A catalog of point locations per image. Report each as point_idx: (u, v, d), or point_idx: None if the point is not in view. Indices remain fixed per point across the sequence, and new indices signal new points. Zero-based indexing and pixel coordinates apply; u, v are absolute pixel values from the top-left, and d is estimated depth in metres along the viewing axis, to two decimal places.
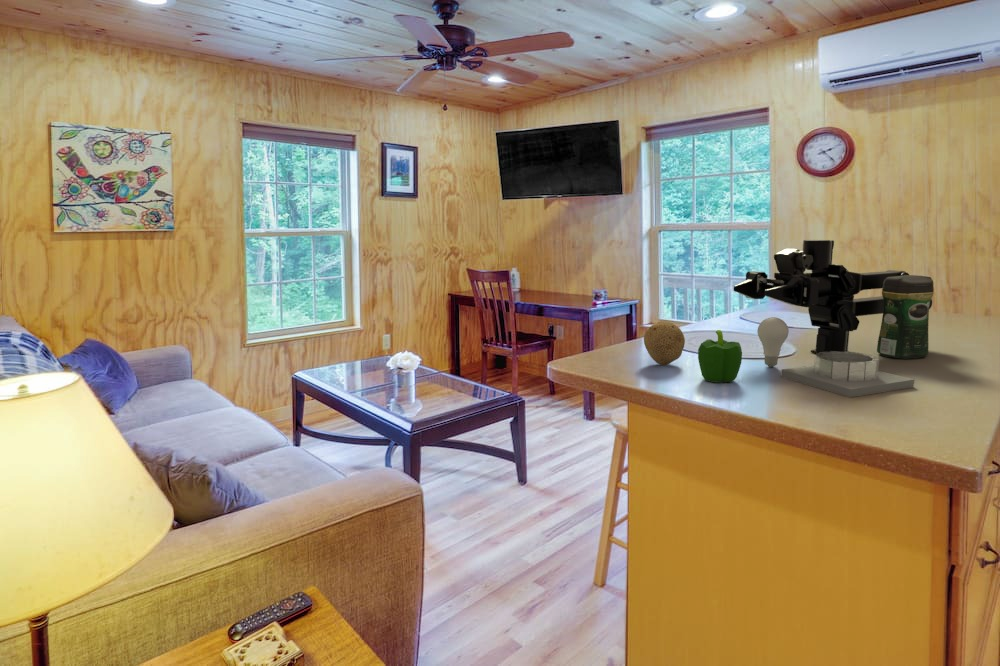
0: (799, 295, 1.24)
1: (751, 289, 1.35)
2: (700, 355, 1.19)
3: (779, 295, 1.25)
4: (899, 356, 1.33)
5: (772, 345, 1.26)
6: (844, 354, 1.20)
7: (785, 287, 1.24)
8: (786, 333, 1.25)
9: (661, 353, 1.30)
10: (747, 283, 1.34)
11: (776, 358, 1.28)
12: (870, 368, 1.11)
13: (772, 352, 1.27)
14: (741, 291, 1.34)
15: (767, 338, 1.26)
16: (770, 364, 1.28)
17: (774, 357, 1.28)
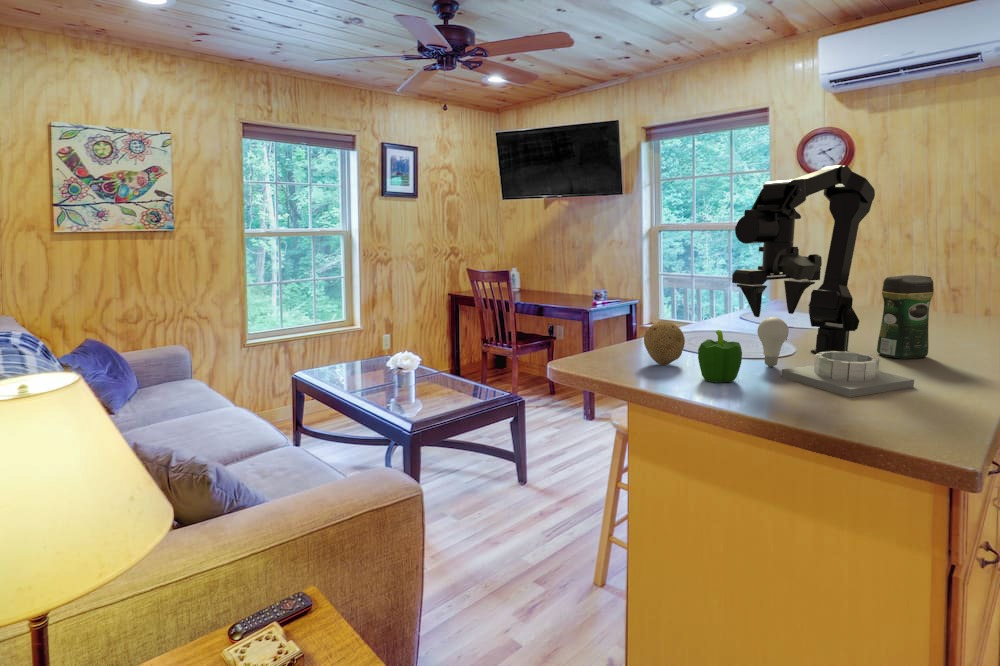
0: None
1: None
2: (700, 355, 1.19)
3: None
4: (899, 356, 1.33)
5: (772, 345, 1.26)
6: (844, 354, 1.20)
7: None
8: (786, 333, 1.25)
9: (661, 353, 1.30)
10: None
11: (776, 358, 1.28)
12: (870, 368, 1.11)
13: (772, 352, 1.27)
14: None
15: (767, 338, 1.26)
16: (770, 364, 1.28)
17: (774, 357, 1.28)
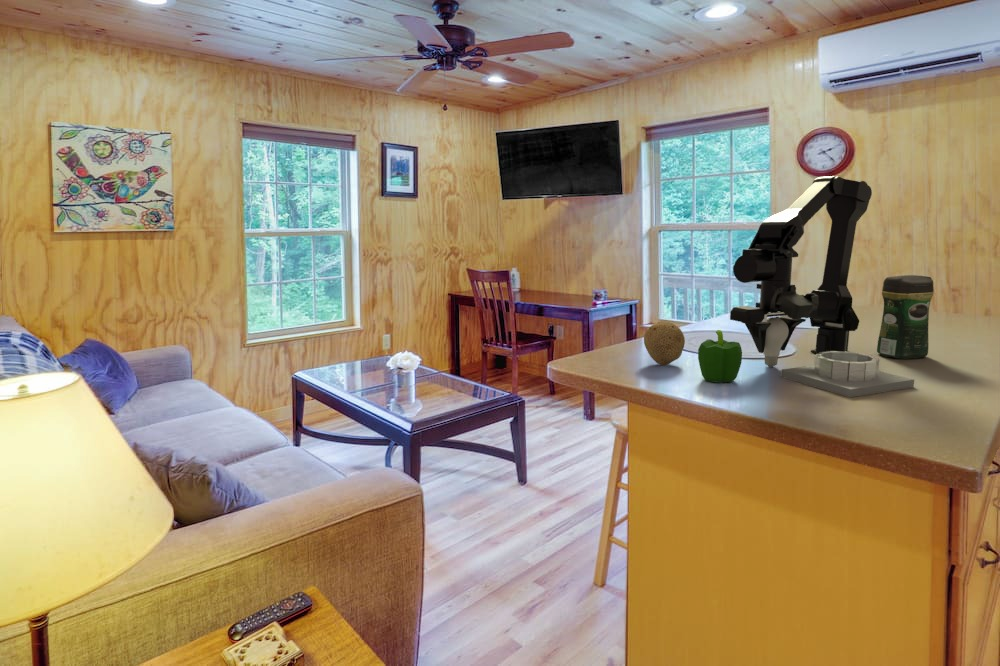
0: None
1: None
2: (700, 355, 1.19)
3: None
4: (899, 356, 1.33)
5: (772, 345, 1.26)
6: (844, 354, 1.20)
7: None
8: (786, 333, 1.25)
9: (661, 353, 1.30)
10: None
11: (776, 358, 1.28)
12: (870, 368, 1.11)
13: (772, 352, 1.27)
14: None
15: (767, 338, 1.26)
16: (770, 364, 1.28)
17: (774, 357, 1.28)
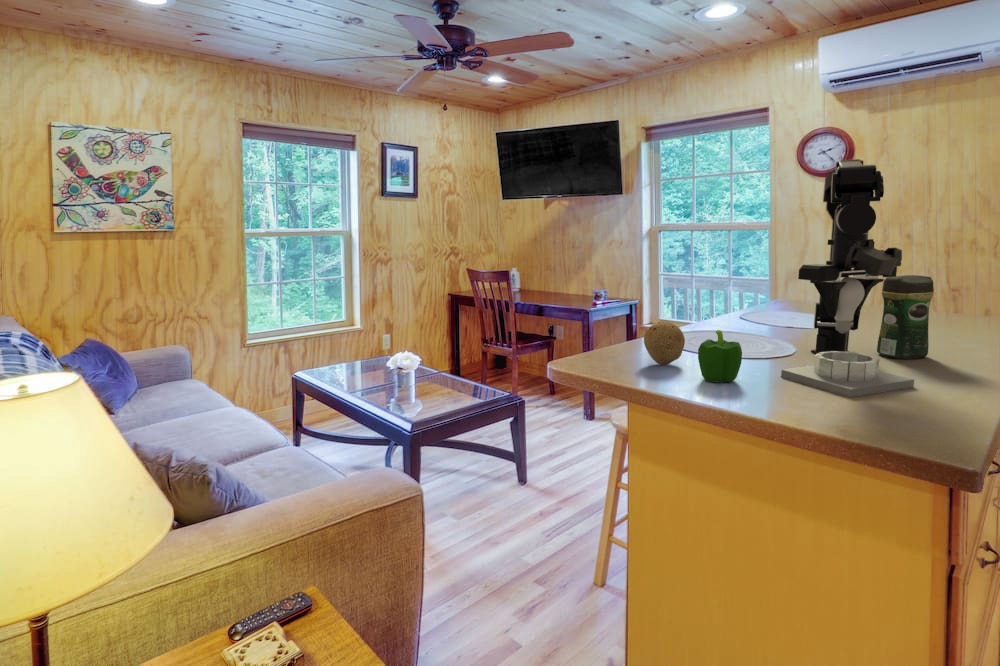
0: None
1: None
2: (700, 355, 1.19)
3: None
4: (899, 356, 1.33)
5: (846, 308, 1.13)
6: (844, 354, 1.20)
7: None
8: (862, 294, 1.12)
9: (661, 353, 1.30)
10: None
11: (849, 323, 1.14)
12: (870, 368, 1.11)
13: (846, 315, 1.13)
14: None
15: (840, 300, 1.13)
16: (842, 329, 1.14)
17: (847, 321, 1.14)
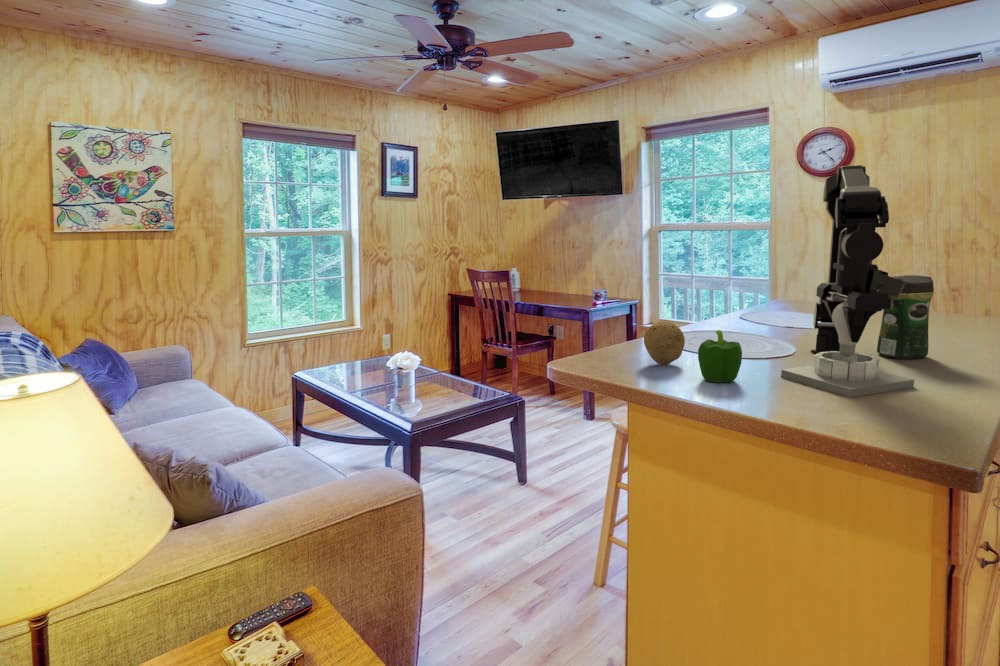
0: None
1: None
2: (700, 355, 1.19)
3: None
4: (899, 356, 1.33)
5: None
6: None
7: None
8: None
9: (661, 353, 1.30)
10: None
11: None
12: (870, 368, 1.11)
13: None
14: None
15: None
16: (853, 353, 1.15)
17: None
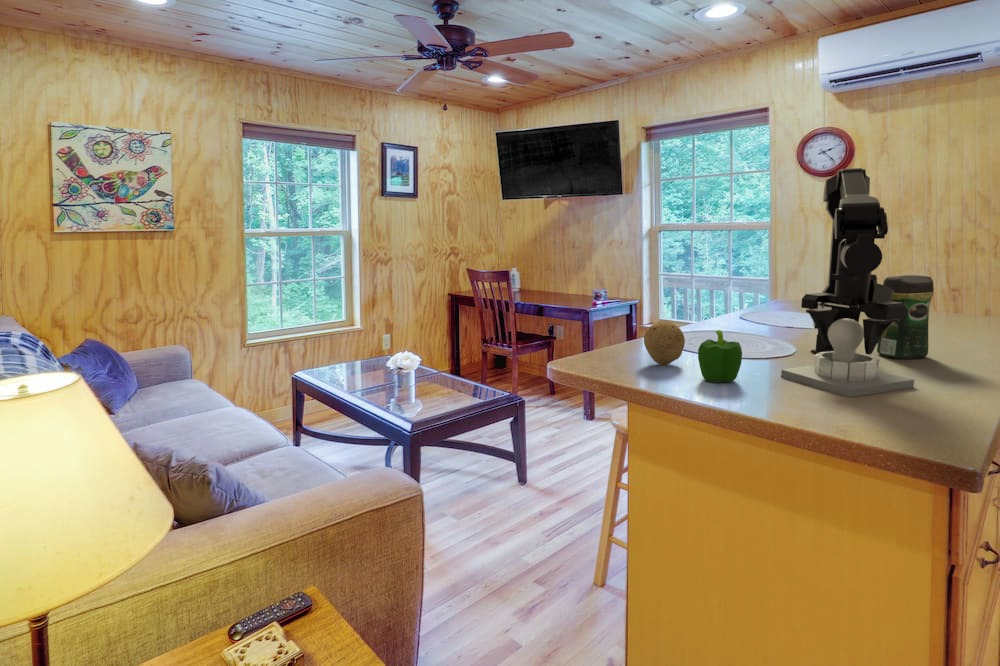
0: None
1: None
2: (700, 355, 1.19)
3: None
4: (899, 356, 1.33)
5: None
6: None
7: None
8: None
9: (661, 353, 1.30)
10: None
11: None
12: (870, 368, 1.11)
13: None
14: None
15: (861, 341, 1.14)
16: None
17: None
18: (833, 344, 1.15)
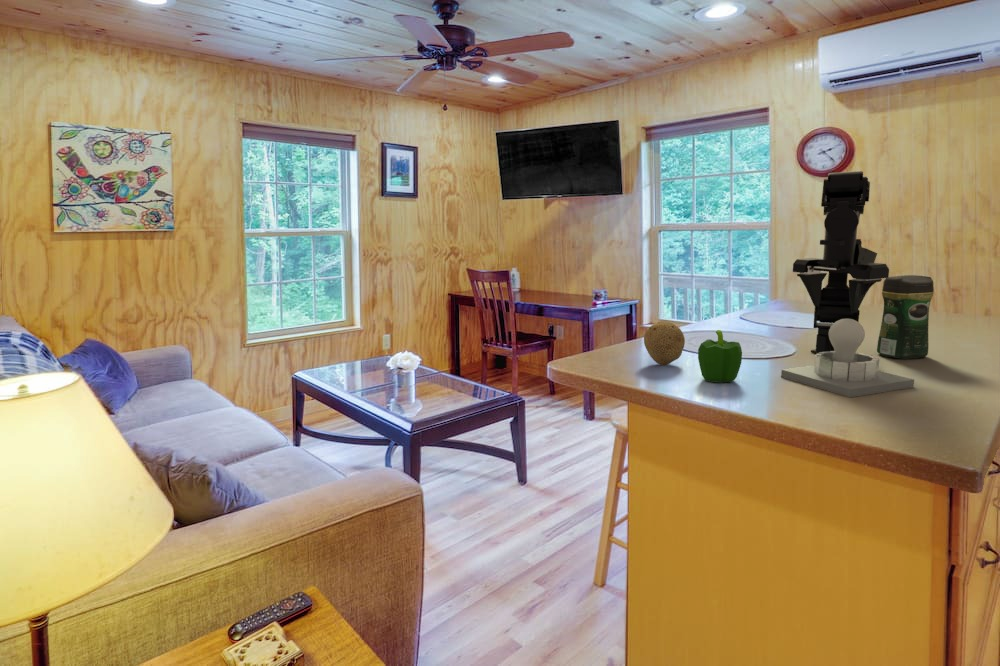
0: None
1: None
2: (700, 355, 1.19)
3: None
4: (899, 356, 1.33)
5: None
6: None
7: None
8: None
9: (661, 353, 1.30)
10: None
11: None
12: (870, 368, 1.11)
13: None
14: None
15: (862, 341, 1.13)
16: None
17: None
18: (834, 344, 1.15)
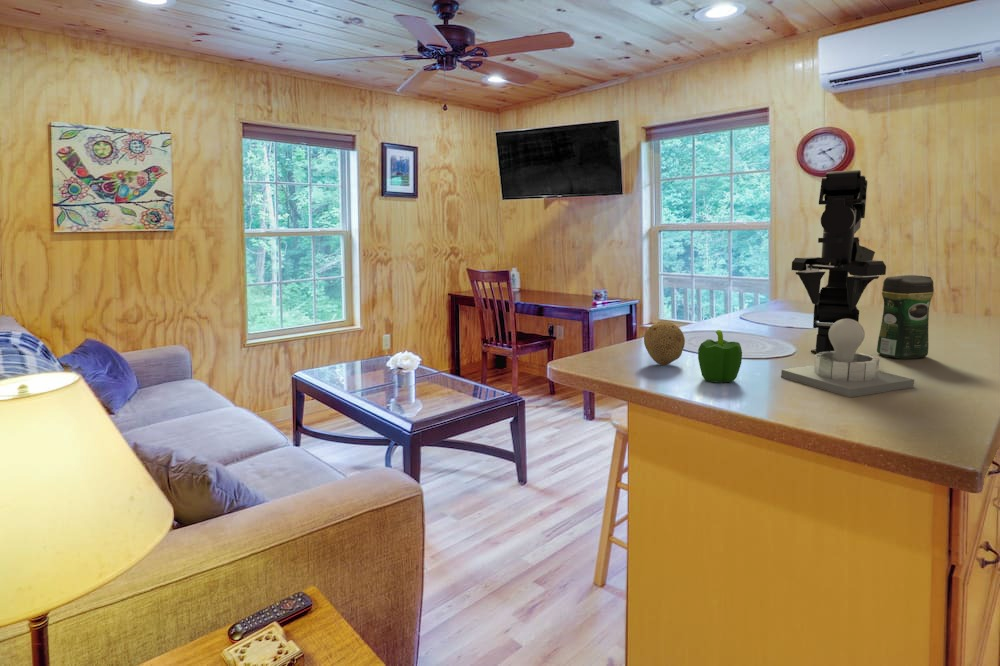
0: None
1: None
2: (700, 355, 1.19)
3: None
4: (899, 356, 1.33)
5: None
6: None
7: None
8: None
9: (661, 353, 1.30)
10: None
11: None
12: (870, 368, 1.11)
13: None
14: None
15: (862, 341, 1.13)
16: None
17: None
18: (834, 344, 1.15)
